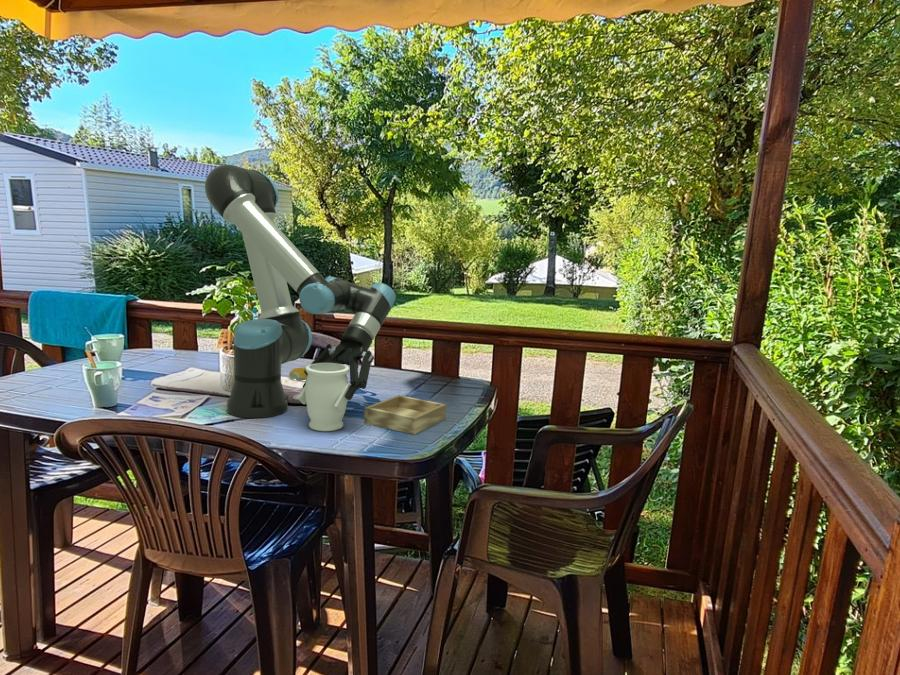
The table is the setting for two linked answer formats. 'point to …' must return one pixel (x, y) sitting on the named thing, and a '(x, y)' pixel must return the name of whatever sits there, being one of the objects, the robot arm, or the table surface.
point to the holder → (405, 414)
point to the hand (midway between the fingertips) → (319, 405)
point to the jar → (325, 395)
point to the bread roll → (298, 374)
